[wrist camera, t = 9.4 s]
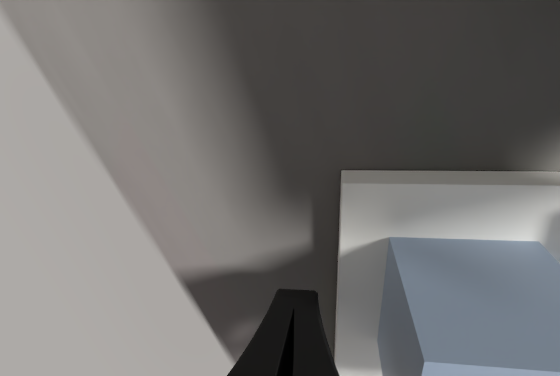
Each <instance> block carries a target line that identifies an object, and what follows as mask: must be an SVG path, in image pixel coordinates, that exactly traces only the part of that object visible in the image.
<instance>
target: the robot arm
mask: <svg viewBox="0 0 560 376" xmlns="http://www.w3.org/2000/svg"><path fill="white" fill-rule="evenodd" d="M227 376H339V373H338V371H337V368H336V365H335V363H334V360H333V357H332V354H331V351H330V348H329V345H328V342H327V339H326V335H325V332H324V328H323V325H322V320H321V316H320V311H319V305H318V293H317V292H316V291H310V290H291V289H279V290H278V291H277V292H276V294H275V297H274V299H273V301H272V304H271V306H270V308H269V310H268V312H267V314H266V315H265V317H264V319H263V321H262V323H261V325H260V326H259V328H258V330H257V331H256V333H255V335H254V337H253V338H252V340H251V341H250V343H249V345H248V346H247V348H246V349H245V351H244V352H243V354H242V355H241V357H240V358H239V360H238V361H237V363H236V364H235V365H234V367H233V368H232V370H231V371H230V372H229V374H228V375H227Z"/></svg>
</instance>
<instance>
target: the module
mask: <svg viewBox="0 0 560 376" xmlns="http://www.w3.org/2000/svg"><path fill="white" fill-rule="evenodd" d="M377 343H378V349H379V356H380V362H381V369H382V375H383V376H560V263H559V262H558V261H557V260H556V259H555V258H554V257H553V256H552V255H551V254H550V253H549V252H548V251H547V250H546V248H545V247H544V246H543V245H542V244H541V243H540V242H539V241H507V240H475V239H442V238H409V237H389V244H388V253H387V261H386V270H385V278H384V287H383V295H382V304H381V312H380V321H379V329H378V338H377Z"/></svg>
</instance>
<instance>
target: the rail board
mask: <svg viewBox="0 0 560 376" xmlns="http://www.w3.org/2000/svg"><path fill="white" fill-rule="evenodd" d="M389 237H409V238H442V239H475V240H507V241H539V242H540V243H541V244H542V245H543V246H544V247H545V248H546V250H547V251H548V252H549V253H550V254H551V255H552V256H553V257H554V258H555V259H556V260H557V261H558V262H559V263H560V172H551V171H385V170H341V192H340V219H339V246H338V273H337V300H336V327H335V354H334V363H335V365H336V368H337V371H338V373H339V376H383V375H382V369H381V362H380V356H379V349H378V343H377V338H378V329H379V321H380V312H381V304H382V295H383V287H384V278H385V270H386V261H387V253H388V244H389Z"/></svg>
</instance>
